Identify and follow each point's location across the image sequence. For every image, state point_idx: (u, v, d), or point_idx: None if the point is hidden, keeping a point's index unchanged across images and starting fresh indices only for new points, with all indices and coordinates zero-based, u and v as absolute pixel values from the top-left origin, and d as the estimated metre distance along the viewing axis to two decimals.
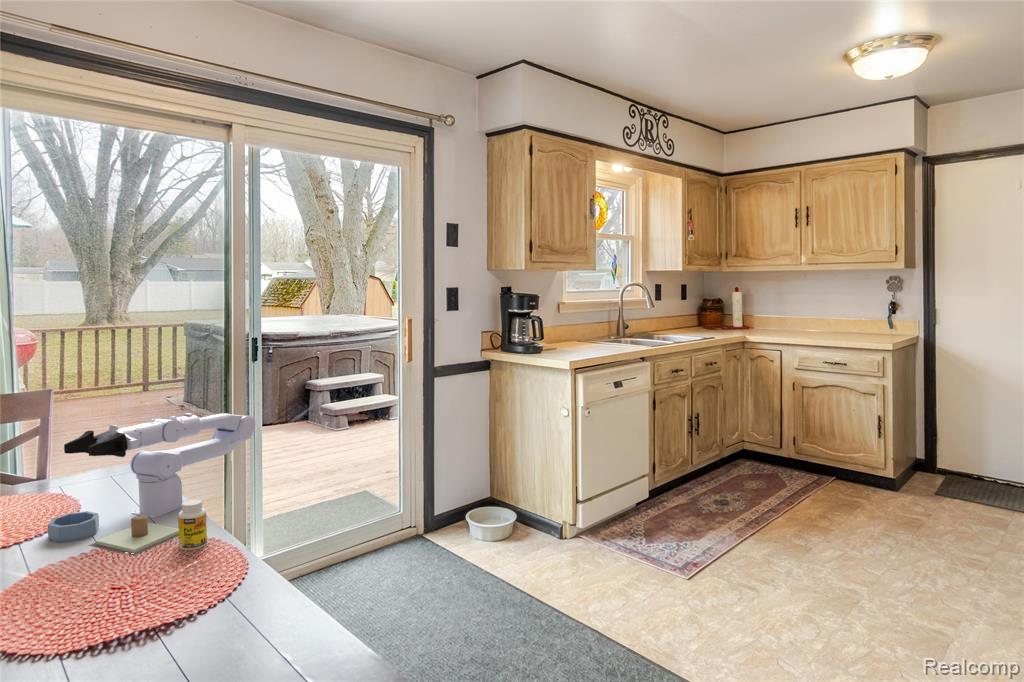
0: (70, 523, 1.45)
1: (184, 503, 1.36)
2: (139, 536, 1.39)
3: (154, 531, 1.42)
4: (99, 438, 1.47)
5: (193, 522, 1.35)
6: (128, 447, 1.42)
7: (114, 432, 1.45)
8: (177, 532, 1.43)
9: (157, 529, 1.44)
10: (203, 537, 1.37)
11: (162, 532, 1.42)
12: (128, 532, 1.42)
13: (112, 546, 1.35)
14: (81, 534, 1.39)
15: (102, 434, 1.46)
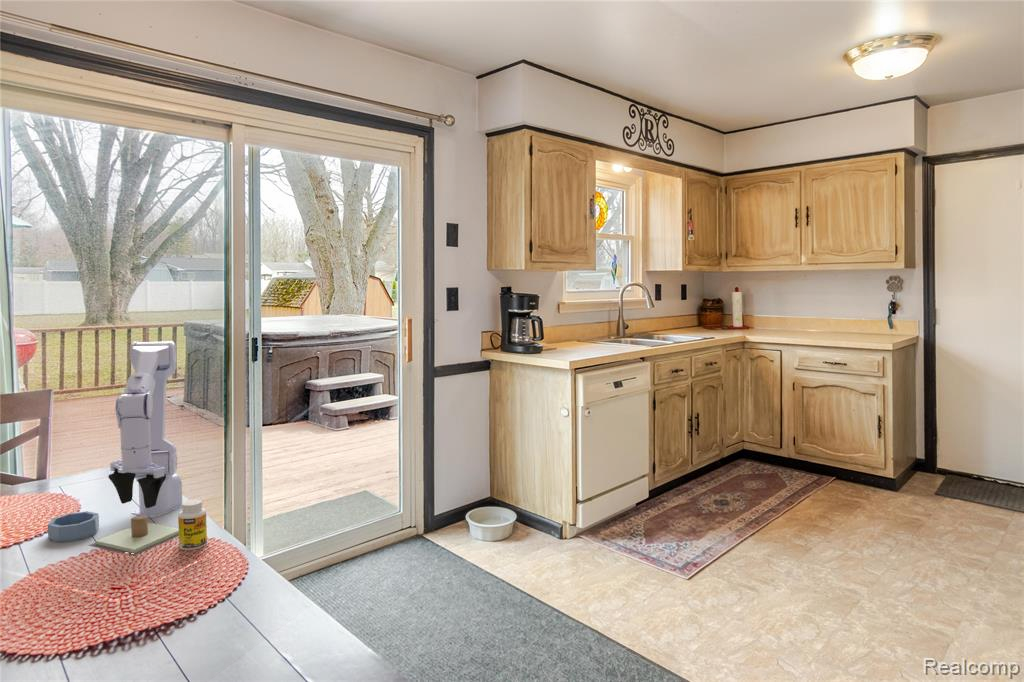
0: (70, 523, 1.45)
1: (184, 503, 1.36)
2: (139, 536, 1.39)
3: (154, 531, 1.42)
4: None
5: (193, 522, 1.35)
6: None
7: None
8: (177, 532, 1.43)
9: (157, 529, 1.44)
10: (203, 537, 1.37)
11: (162, 532, 1.42)
12: (128, 532, 1.42)
13: (112, 546, 1.35)
14: (81, 534, 1.39)
15: None
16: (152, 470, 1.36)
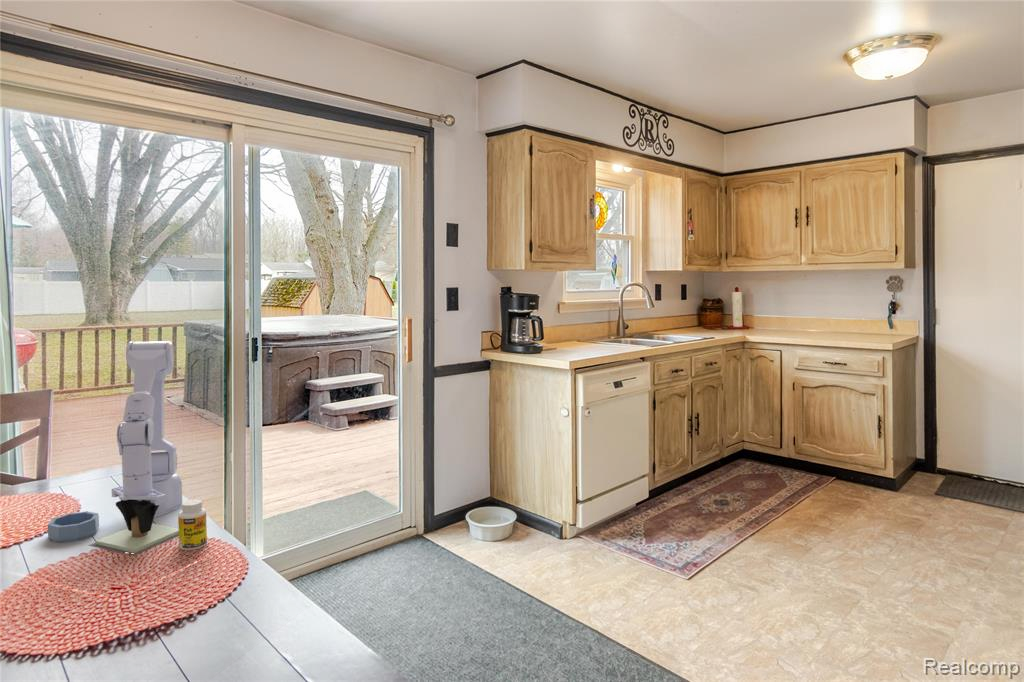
0: (70, 523, 1.45)
1: (184, 503, 1.36)
2: (139, 536, 1.39)
3: (154, 531, 1.42)
4: None
5: (193, 522, 1.35)
6: None
7: None
8: (177, 532, 1.43)
9: (157, 529, 1.44)
10: (203, 537, 1.37)
11: (162, 532, 1.42)
12: (128, 532, 1.42)
13: (112, 546, 1.35)
14: (81, 534, 1.39)
15: None
16: (153, 497, 1.36)
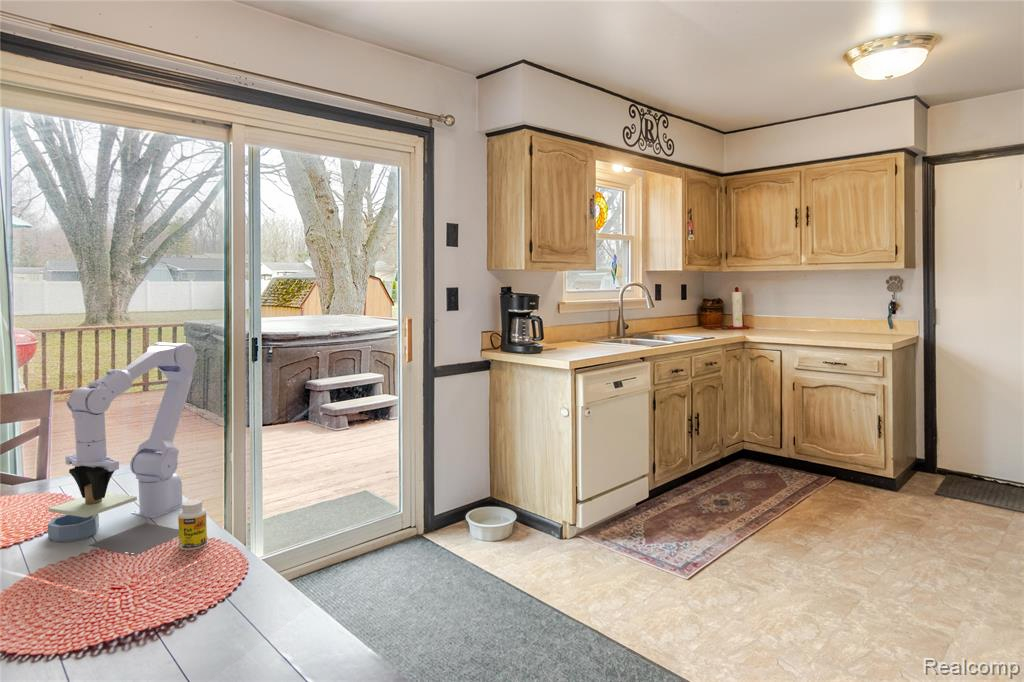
0: (70, 523, 1.45)
1: (184, 503, 1.36)
2: (93, 503, 1.39)
3: (109, 499, 1.43)
4: None
5: (193, 522, 1.35)
6: None
7: None
8: (132, 499, 1.43)
9: (112, 497, 1.44)
10: (203, 537, 1.37)
11: (116, 499, 1.43)
12: (82, 500, 1.42)
13: (64, 512, 1.36)
14: (81, 534, 1.39)
15: None
16: (106, 463, 1.37)
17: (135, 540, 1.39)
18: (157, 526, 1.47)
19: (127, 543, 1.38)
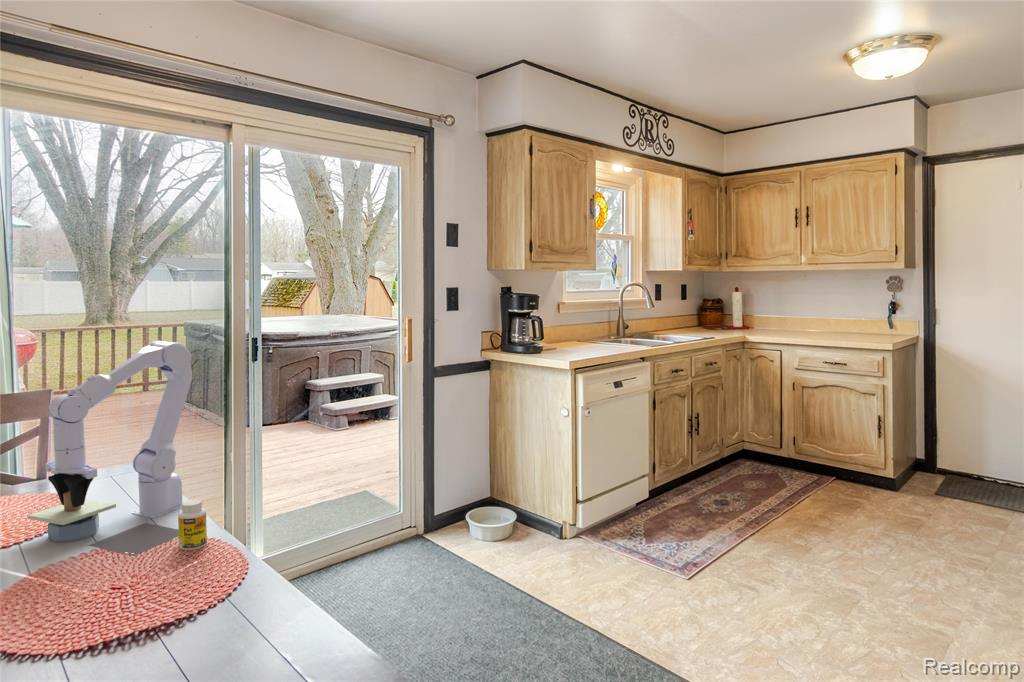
0: (70, 523, 1.45)
1: (184, 503, 1.36)
2: (71, 510, 1.40)
3: (88, 506, 1.43)
4: None
5: (193, 522, 1.35)
6: None
7: (62, 472, 1.38)
8: (111, 506, 1.44)
9: (91, 504, 1.45)
10: (203, 537, 1.37)
11: (95, 506, 1.43)
12: (62, 507, 1.43)
13: (42, 519, 1.36)
14: (81, 534, 1.39)
15: None
16: (84, 471, 1.38)
17: (135, 540, 1.39)
18: (157, 526, 1.47)
19: (127, 543, 1.38)
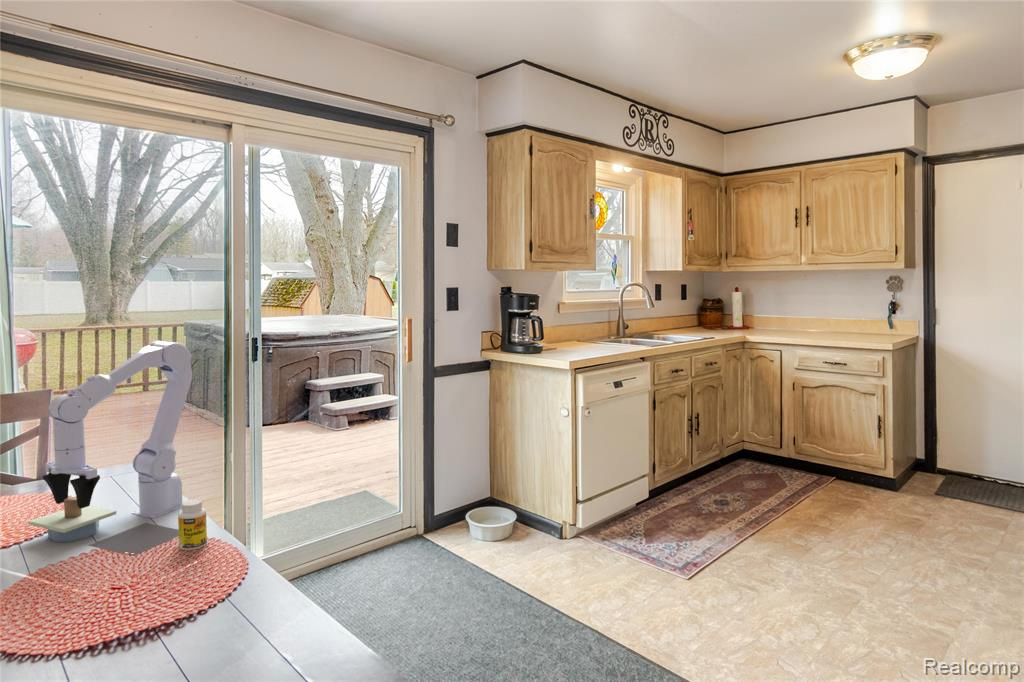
0: None
1: (184, 503, 1.36)
2: (72, 517, 1.40)
3: (89, 513, 1.44)
4: None
5: (193, 522, 1.35)
6: None
7: (62, 472, 1.38)
8: (111, 514, 1.44)
9: (92, 511, 1.45)
10: (203, 537, 1.37)
11: (96, 513, 1.43)
12: (62, 513, 1.43)
13: (43, 526, 1.37)
14: (81, 534, 1.39)
15: None
16: (84, 471, 1.38)
17: (135, 540, 1.39)
18: (157, 526, 1.47)
19: (127, 543, 1.38)
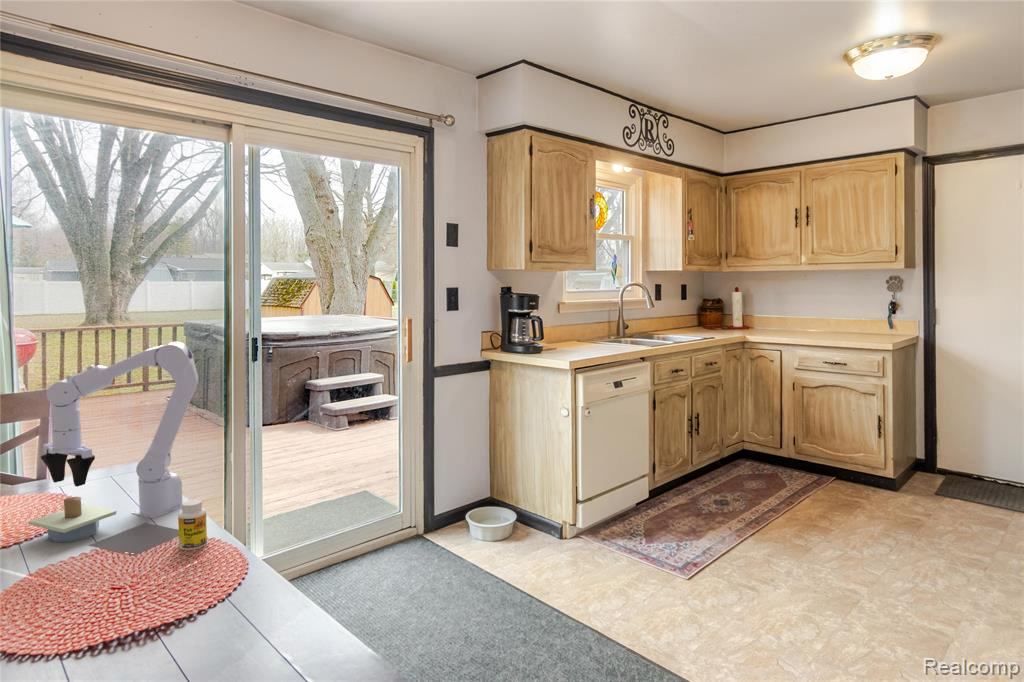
0: None
1: (184, 503, 1.36)
2: (72, 517, 1.40)
3: (89, 513, 1.44)
4: None
5: (193, 522, 1.35)
6: (88, 456, 1.48)
7: (59, 452, 1.47)
8: (111, 514, 1.44)
9: (92, 511, 1.45)
10: (203, 537, 1.37)
11: (96, 513, 1.43)
12: (62, 513, 1.43)
13: (43, 526, 1.37)
14: (81, 534, 1.39)
15: None
16: (80, 451, 1.47)
17: (135, 540, 1.39)
18: (157, 526, 1.47)
19: (127, 543, 1.38)
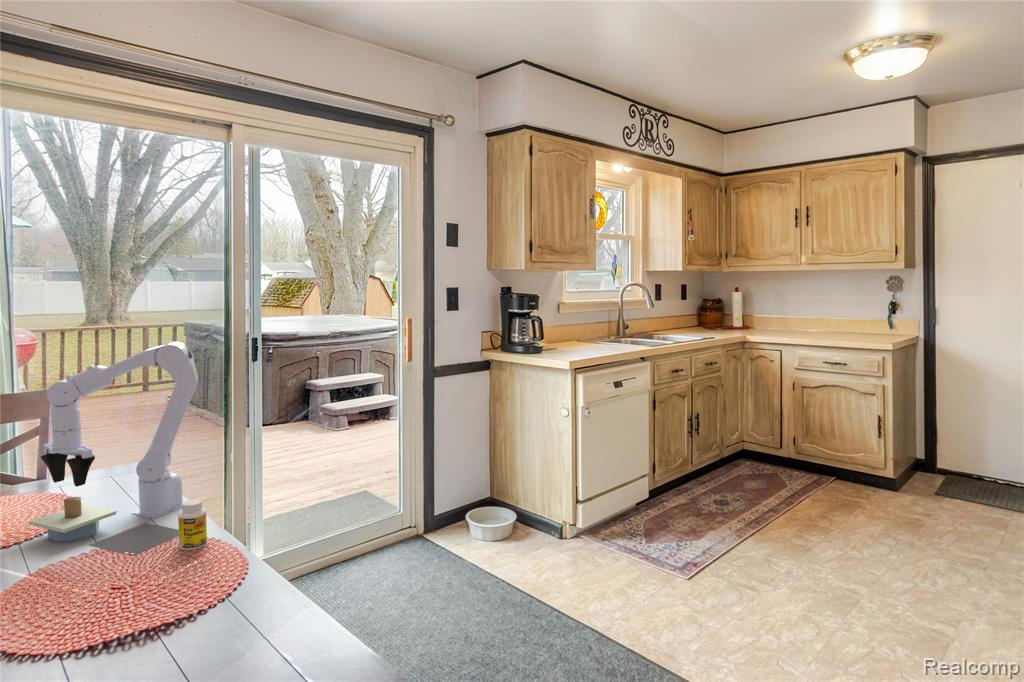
0: None
1: (184, 503, 1.36)
2: (72, 517, 1.40)
3: (89, 513, 1.44)
4: None
5: (193, 522, 1.35)
6: (88, 456, 1.48)
7: (59, 452, 1.47)
8: (111, 514, 1.44)
9: (92, 511, 1.45)
10: (203, 537, 1.37)
11: (96, 513, 1.43)
12: (62, 513, 1.43)
13: (43, 526, 1.37)
14: (81, 534, 1.39)
15: None
16: (80, 451, 1.47)
17: (135, 540, 1.39)
18: (157, 526, 1.47)
19: (127, 543, 1.38)
